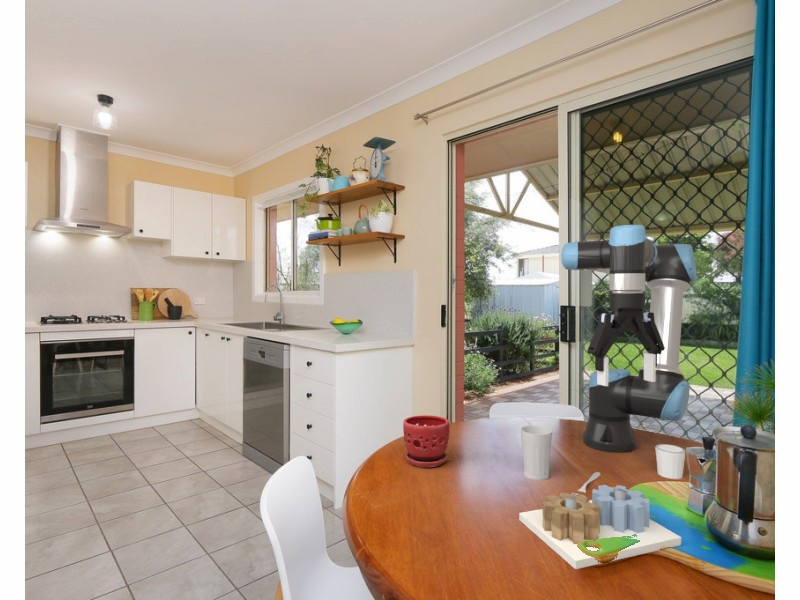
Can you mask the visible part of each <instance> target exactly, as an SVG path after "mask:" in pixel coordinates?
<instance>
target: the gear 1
mask: <svg viewBox="0 0 800 600" xmlns="http://www.w3.org/2000/svg"><path fill="white" fill-rule="evenodd" d="M558 494H559V495H553V494H550V493H549V494H548V495H545V496H544V501H542V509H543V528H544V531H551V532H552V537H553V538H555V539H557V540H559V541H561V540H563V539H568V538H569V540H572V542H573V544H578V543H579V542H580V543H584V539H585V540H593V541H596V540H597V539H599V533H600V507H599V506H598V504H597V503H590V502H589V497H584V496H585V495H583V496H581V495H582V494H580V495H577V496H578V497H576V496H574V497H572V496H573V495H571V496H570V493H569V492H559V493H558ZM567 497H572V498H575V499H576V509H567V508H565V499H566V498H567Z"/></svg>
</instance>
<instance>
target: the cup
mask: <svg viewBox="0 0 800 600" xmlns="http://www.w3.org/2000/svg"><path fill="white" fill-rule="evenodd" d="M520 437H521V448H522V449H521V450H522V459H523V461H522V462H523V475H524V477H526V478H528V479H530V480H537V481H544V480H547V479H549V477H550V465H551V463H550V461H551V453H552V452H551V451H552V440H553V430H552V428H549V427H547V426H543V425H535V424H528V425H524V426H521V427H520Z"/></svg>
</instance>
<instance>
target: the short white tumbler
mask: <svg viewBox="0 0 800 600" xmlns="http://www.w3.org/2000/svg"><path fill="white" fill-rule="evenodd" d="M685 457H686V449H685V448H683V447H680V446H678V445H674V444H666V443H665V444H663V443H661V444H659V443H658V444H657V445H655V459H656V468H657V474H658V475H659V476H660V477H662V478H666V479H670V480H681V479H683V474H684V466H685Z"/></svg>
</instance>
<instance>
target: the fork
mask: <svg viewBox="0 0 800 600" xmlns="http://www.w3.org/2000/svg"><path fill="white" fill-rule="evenodd" d="M600 476H601V472H599V471H596V472H594V473H593V474H592V475H591V476H590V477H589V478H588V480H586V481H585V482H584V484H583V485H582V486H581V487H580V488H579V489H577V491H578V492H582V493H585V494H586V493H587V491H586V489H587V486H588V484H590V483H592V482H593V481H595V480H597V479H598V478H599V477H600ZM569 495H570V496H572V497H575V496H576V497H578V496H579V495H581V496H584V497H586V495H583V494H579V493H577V492H576V493H575V492H572V493H571V494H570V493H569Z"/></svg>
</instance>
